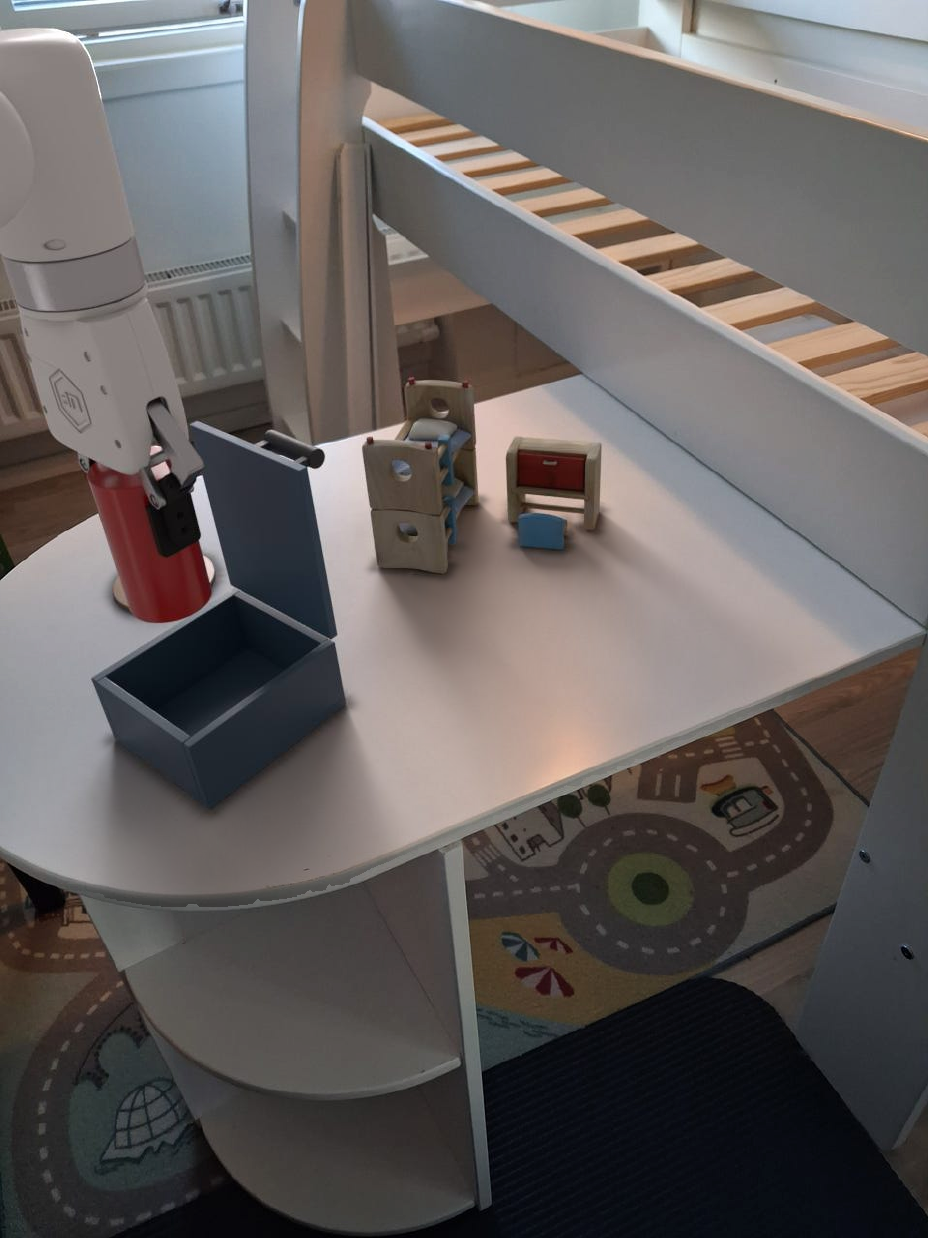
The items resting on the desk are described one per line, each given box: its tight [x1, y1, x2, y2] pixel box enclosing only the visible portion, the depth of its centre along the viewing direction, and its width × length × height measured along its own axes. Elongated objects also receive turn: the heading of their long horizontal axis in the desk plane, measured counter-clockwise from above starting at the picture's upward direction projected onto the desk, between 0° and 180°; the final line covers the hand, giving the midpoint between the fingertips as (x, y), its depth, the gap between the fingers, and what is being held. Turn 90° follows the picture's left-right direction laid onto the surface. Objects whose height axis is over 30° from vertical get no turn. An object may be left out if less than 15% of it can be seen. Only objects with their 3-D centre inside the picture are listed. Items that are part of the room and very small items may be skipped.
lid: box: [189, 420, 338, 641], centre depth 79 cm, size 15×13×5 cm
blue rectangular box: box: [90, 587, 347, 811], centre depth 81 cm, size 15×13×7 cm
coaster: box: [112, 554, 216, 610], centre depth 99 cm, size 10×10×1 cm
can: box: [86, 445, 213, 624], centre depth 70 cm, size 6×6×11 cm
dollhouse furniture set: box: [361, 376, 603, 575], centre depth 97 cm, size 14×20×14 cm
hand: (150, 529), depth 69 cm, fingers closed on can, 6 cm apart
